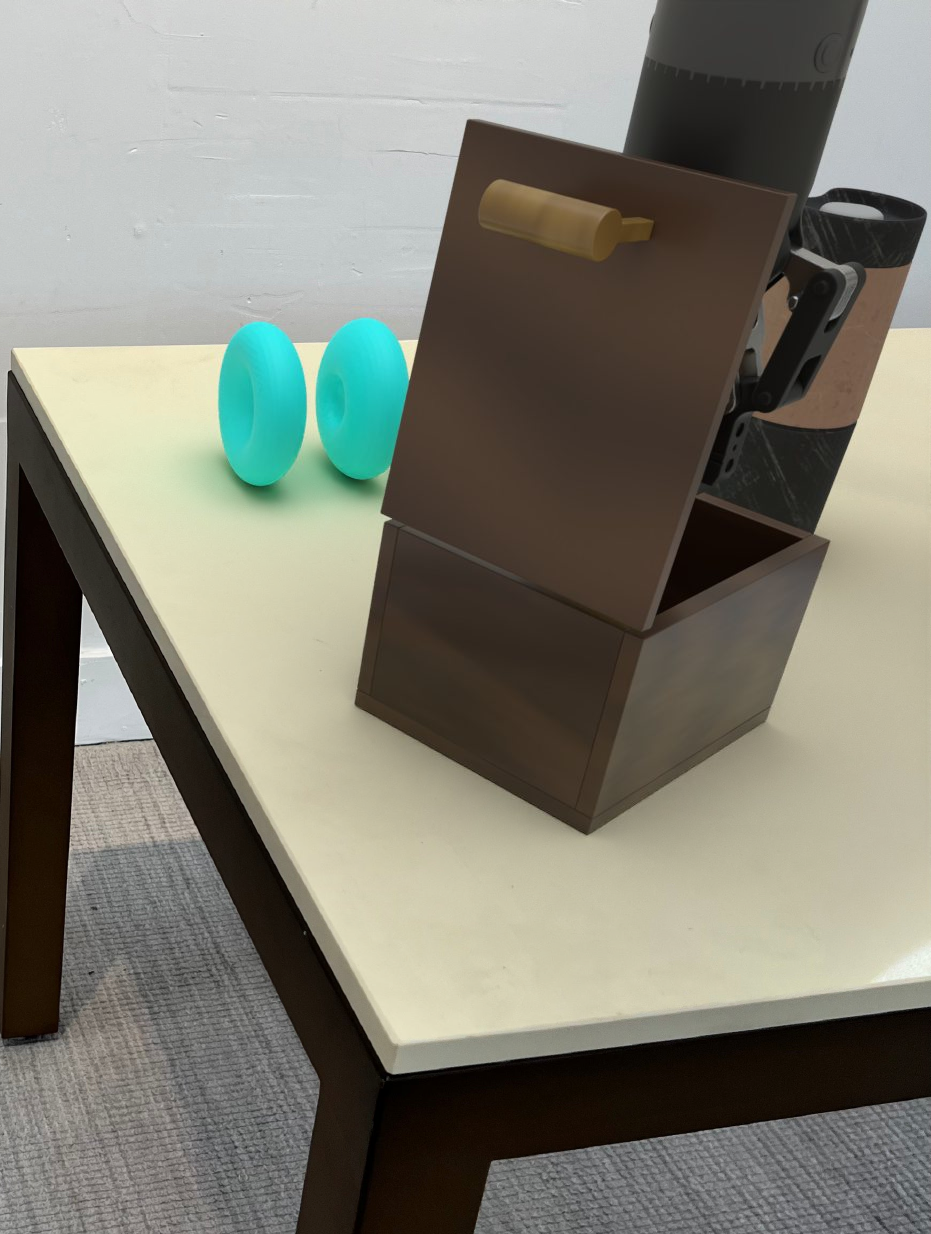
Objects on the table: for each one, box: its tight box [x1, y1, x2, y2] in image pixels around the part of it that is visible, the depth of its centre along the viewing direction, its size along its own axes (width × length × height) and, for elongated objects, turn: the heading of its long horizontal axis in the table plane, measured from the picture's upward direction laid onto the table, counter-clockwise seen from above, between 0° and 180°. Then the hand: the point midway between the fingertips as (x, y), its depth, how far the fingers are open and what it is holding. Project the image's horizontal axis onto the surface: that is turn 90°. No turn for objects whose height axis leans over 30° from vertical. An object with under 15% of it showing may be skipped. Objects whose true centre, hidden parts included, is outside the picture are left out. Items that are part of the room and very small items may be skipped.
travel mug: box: [703, 187, 928, 534], centre depth 86 cm, size 8×8×20 cm
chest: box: [354, 493, 831, 835], centre depth 71 cm, size 16×14×10 cm
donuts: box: [217, 317, 410, 487], centre depth 94 cm, size 10×10×10 cm
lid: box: [380, 118, 797, 631], centre depth 58 cm, size 17×14×5 cm
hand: (638, 464), depth 67 cm, fingers closed on lemon, 5 cm apart
